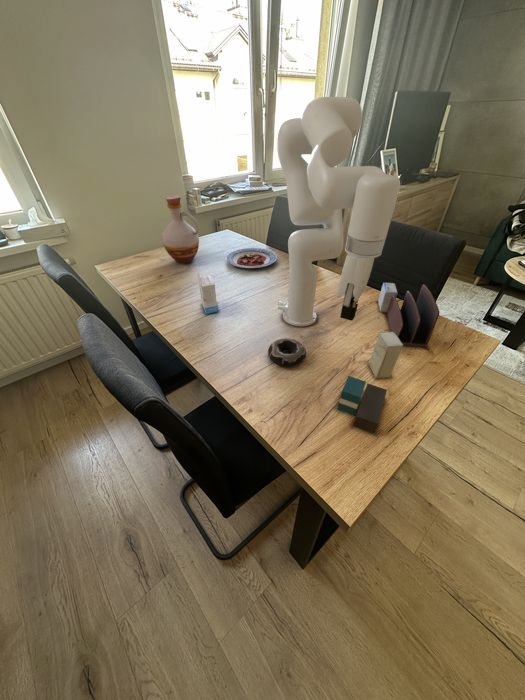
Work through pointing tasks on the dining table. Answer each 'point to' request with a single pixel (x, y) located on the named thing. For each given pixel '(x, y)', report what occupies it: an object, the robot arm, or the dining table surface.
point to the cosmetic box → (385, 354)
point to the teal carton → (351, 395)
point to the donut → (287, 359)
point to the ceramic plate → (251, 258)
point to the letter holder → (414, 318)
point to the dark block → (370, 408)
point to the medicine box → (386, 296)
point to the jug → (180, 233)
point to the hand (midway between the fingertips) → (347, 317)
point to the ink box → (207, 294)
